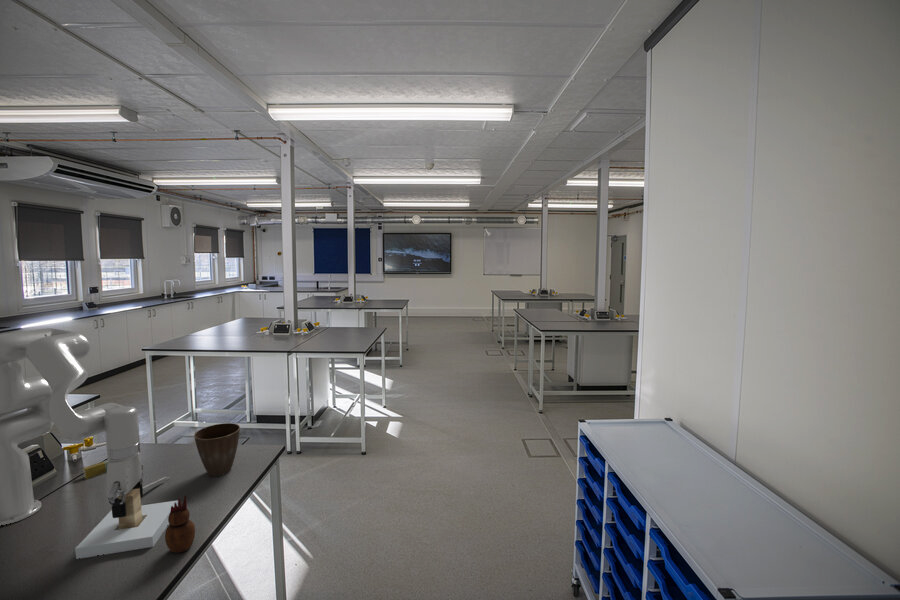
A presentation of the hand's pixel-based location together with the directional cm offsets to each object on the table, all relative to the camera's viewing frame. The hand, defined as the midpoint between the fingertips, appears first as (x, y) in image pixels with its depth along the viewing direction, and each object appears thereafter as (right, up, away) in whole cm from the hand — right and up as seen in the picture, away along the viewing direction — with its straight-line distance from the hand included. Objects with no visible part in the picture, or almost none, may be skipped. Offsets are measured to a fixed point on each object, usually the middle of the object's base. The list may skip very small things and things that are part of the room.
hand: (128, 506), depth 120 cm
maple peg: (0, -8, +1) cm, 8 cm away
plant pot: (+7, -5, +35) cm, 36 cm away
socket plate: (0, -8, +1) cm, 8 cm away
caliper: (-10, -7, +21) cm, 24 cm away
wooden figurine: (+20, -8, -7) cm, 23 cm away
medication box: (-38, -5, +37) cm, 53 cm away
